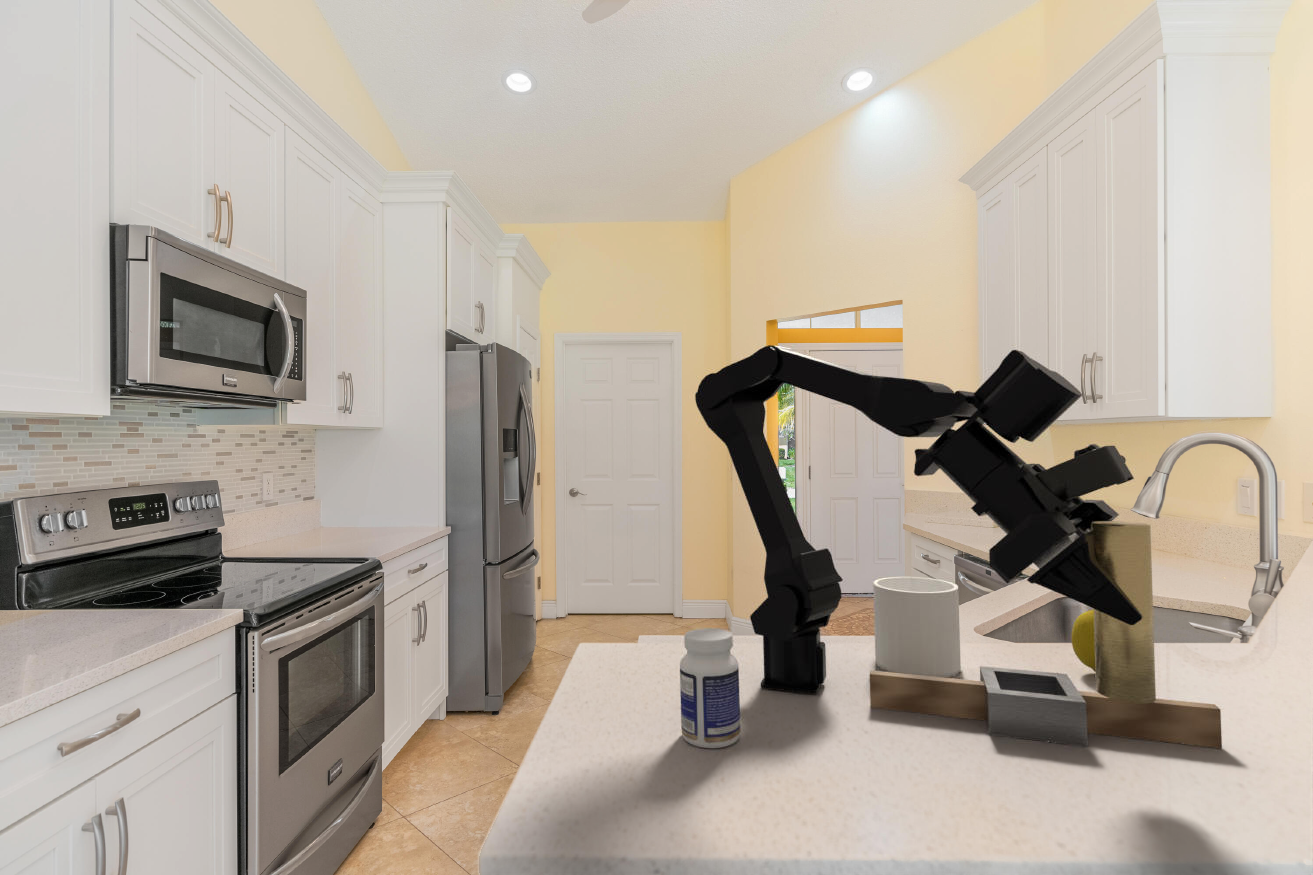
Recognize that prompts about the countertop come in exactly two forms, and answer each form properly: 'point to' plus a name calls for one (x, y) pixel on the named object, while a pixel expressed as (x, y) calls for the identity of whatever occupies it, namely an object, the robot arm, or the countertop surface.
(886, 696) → the hinge leaves
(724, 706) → the pill bottle
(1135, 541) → the hinge pin
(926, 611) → the mug
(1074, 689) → the gray square planter
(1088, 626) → the lemon
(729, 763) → the countertop surface
